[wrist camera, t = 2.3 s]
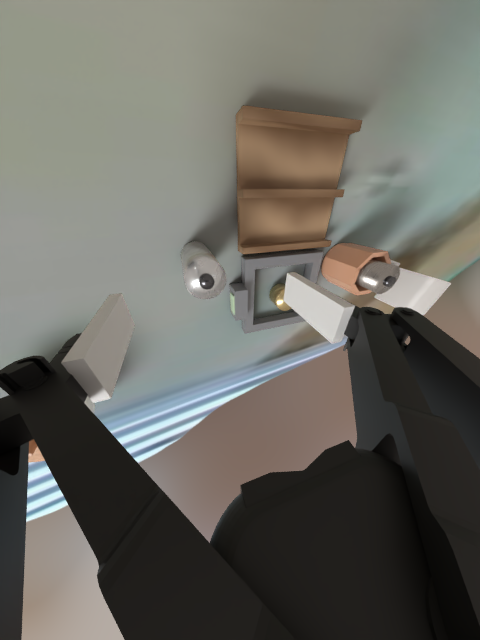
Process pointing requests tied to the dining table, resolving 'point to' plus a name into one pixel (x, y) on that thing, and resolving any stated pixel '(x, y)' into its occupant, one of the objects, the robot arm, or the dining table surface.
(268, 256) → the cradle
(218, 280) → the cell
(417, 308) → the security camera
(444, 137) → the dining table surface
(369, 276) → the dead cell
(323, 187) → the trough board
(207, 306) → the dining table surface
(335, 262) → the octagonal tan cylinder
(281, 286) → the gold ball
